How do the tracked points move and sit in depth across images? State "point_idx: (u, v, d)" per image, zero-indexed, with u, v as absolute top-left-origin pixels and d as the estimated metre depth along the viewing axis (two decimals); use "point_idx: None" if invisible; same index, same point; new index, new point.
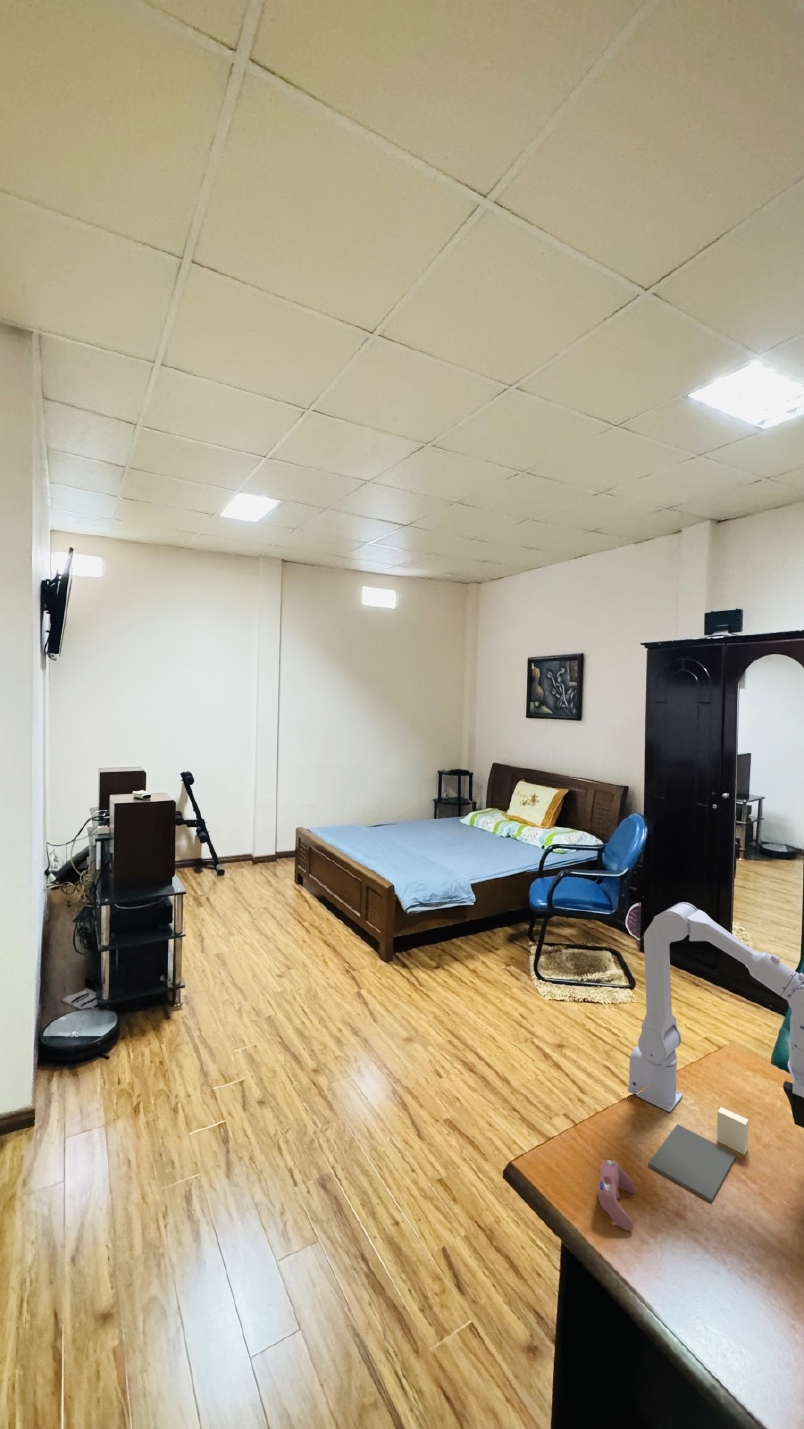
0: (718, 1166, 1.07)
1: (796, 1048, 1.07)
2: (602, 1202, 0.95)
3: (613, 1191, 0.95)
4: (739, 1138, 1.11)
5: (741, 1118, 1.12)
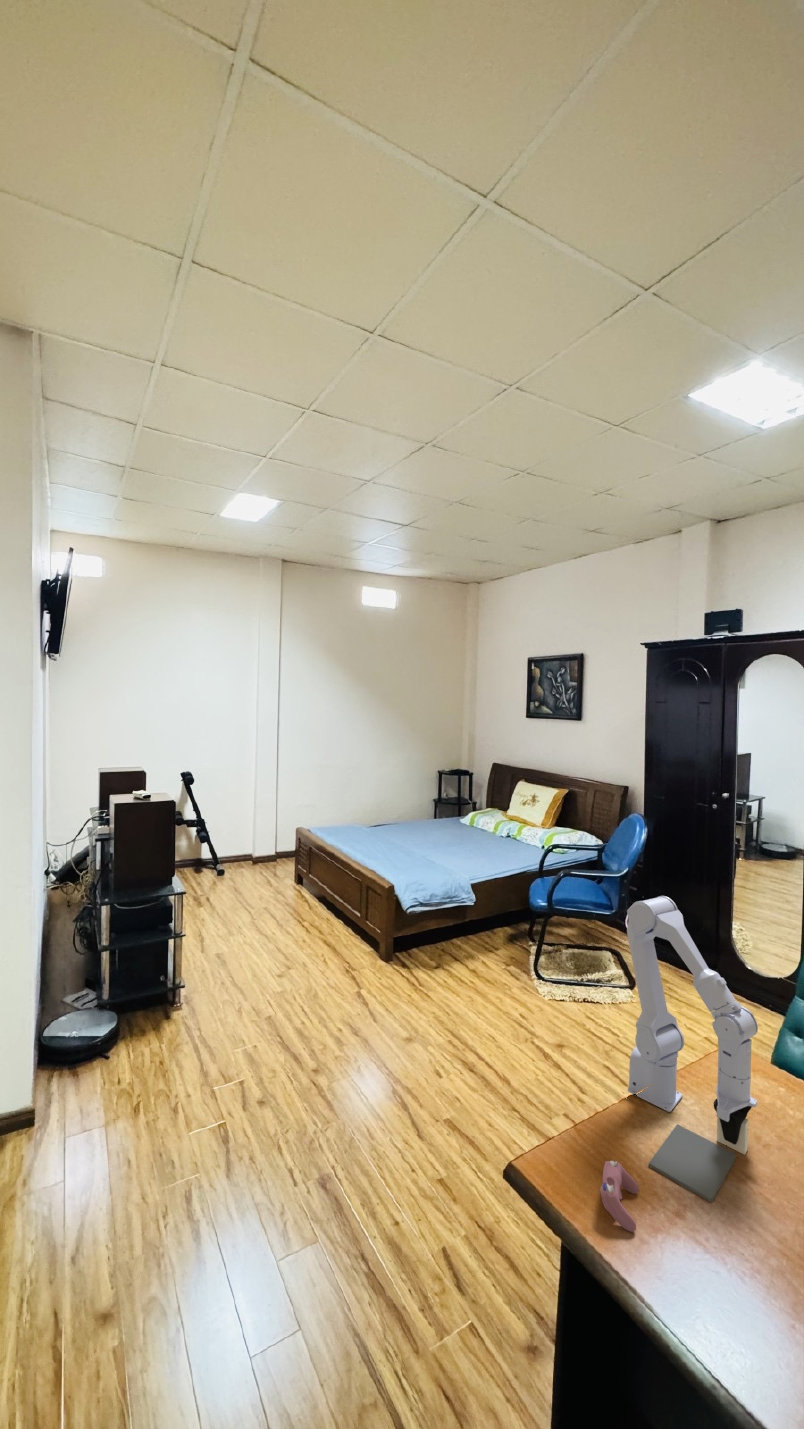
0: (718, 1166, 1.07)
1: (722, 1073, 1.12)
2: (605, 1203, 0.95)
3: (616, 1192, 0.95)
4: (739, 1138, 1.11)
5: None
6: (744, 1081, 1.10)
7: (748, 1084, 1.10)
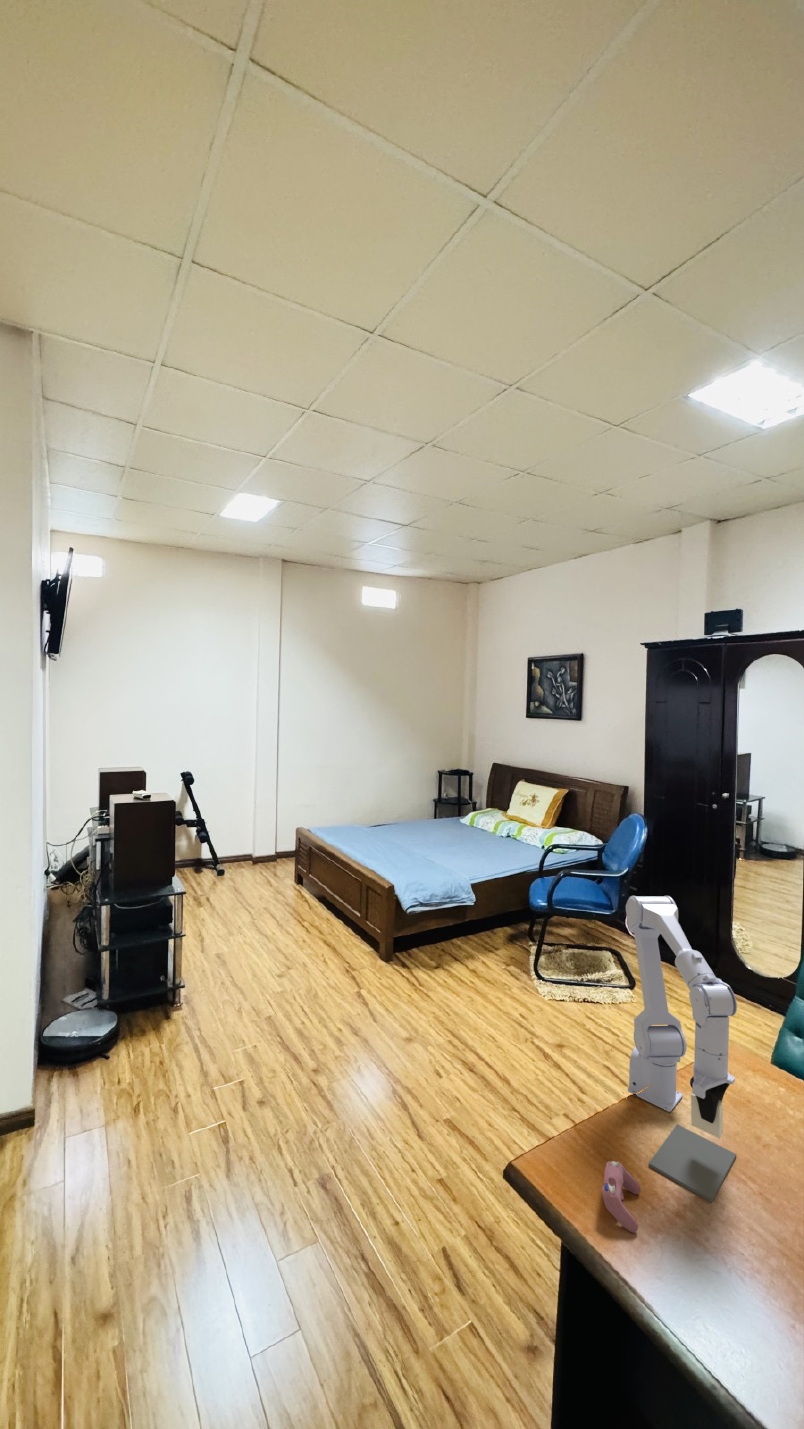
0: (718, 1166, 1.07)
1: (699, 1049, 1.08)
2: (607, 1204, 0.95)
3: (618, 1192, 0.95)
4: None
5: None
6: (721, 1057, 1.06)
7: (725, 1060, 1.06)
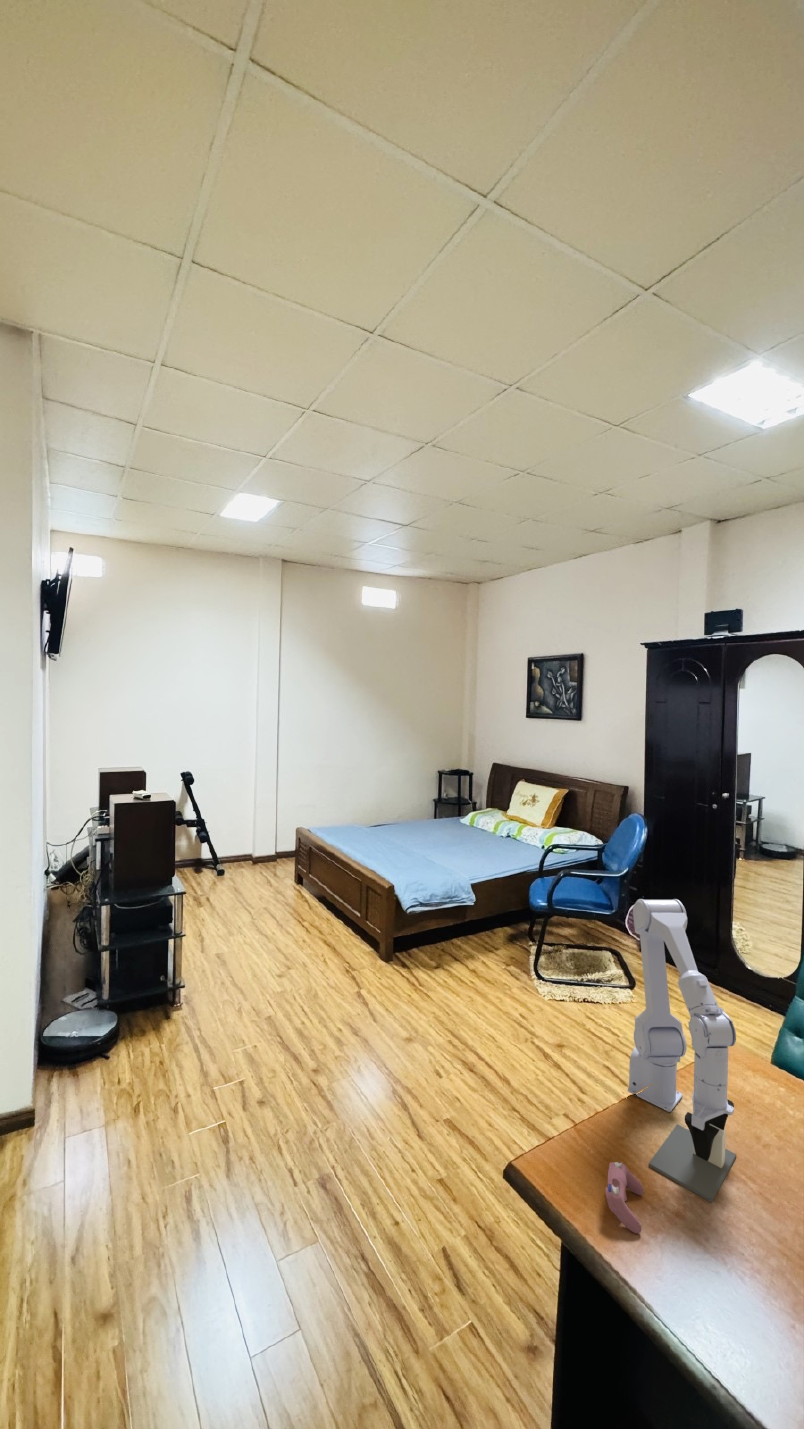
0: None
1: (698, 1080, 1.08)
2: (610, 1205, 0.94)
3: (621, 1194, 0.95)
4: (716, 1151, 1.07)
5: None
6: (720, 1088, 1.06)
7: (725, 1091, 1.06)
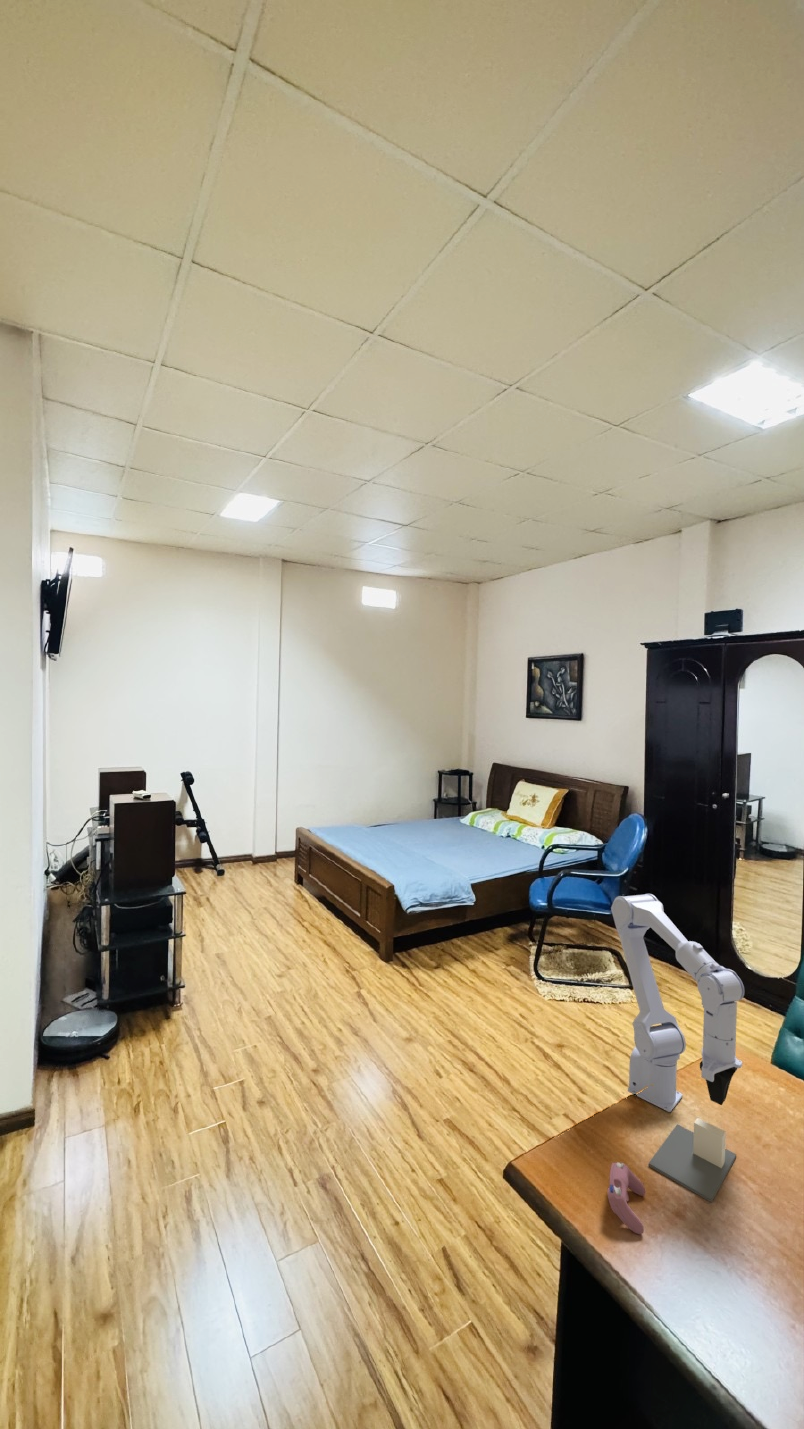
0: None
1: (708, 1035, 1.11)
2: (612, 1205, 0.94)
3: (623, 1194, 0.95)
4: (716, 1151, 1.07)
5: (718, 1130, 1.08)
6: (729, 1042, 1.09)
7: (733, 1045, 1.10)
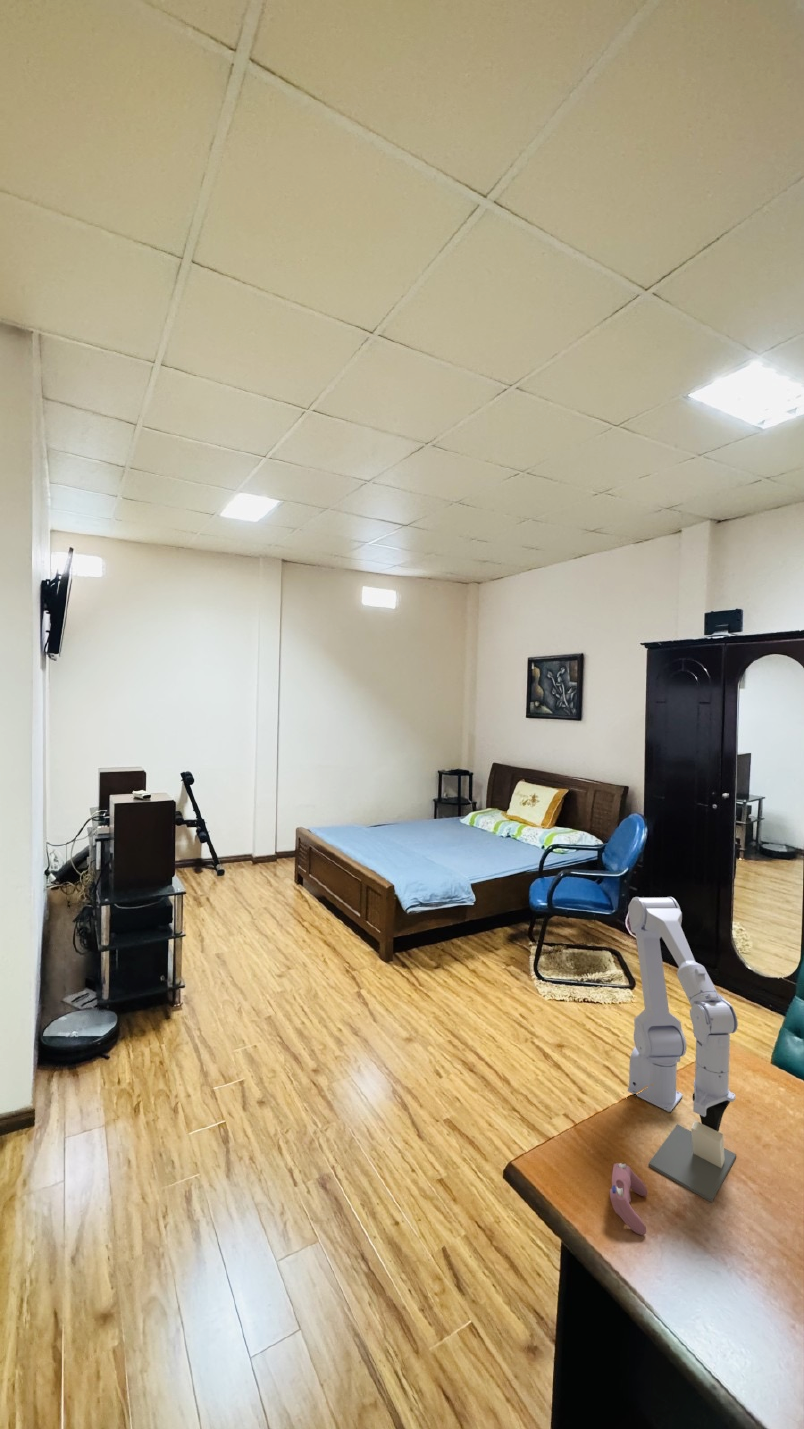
0: None
1: (700, 1067, 1.08)
2: (615, 1206, 0.94)
3: (626, 1195, 0.95)
4: (714, 1153, 1.06)
5: (715, 1133, 1.07)
6: (722, 1075, 1.06)
7: (726, 1078, 1.07)
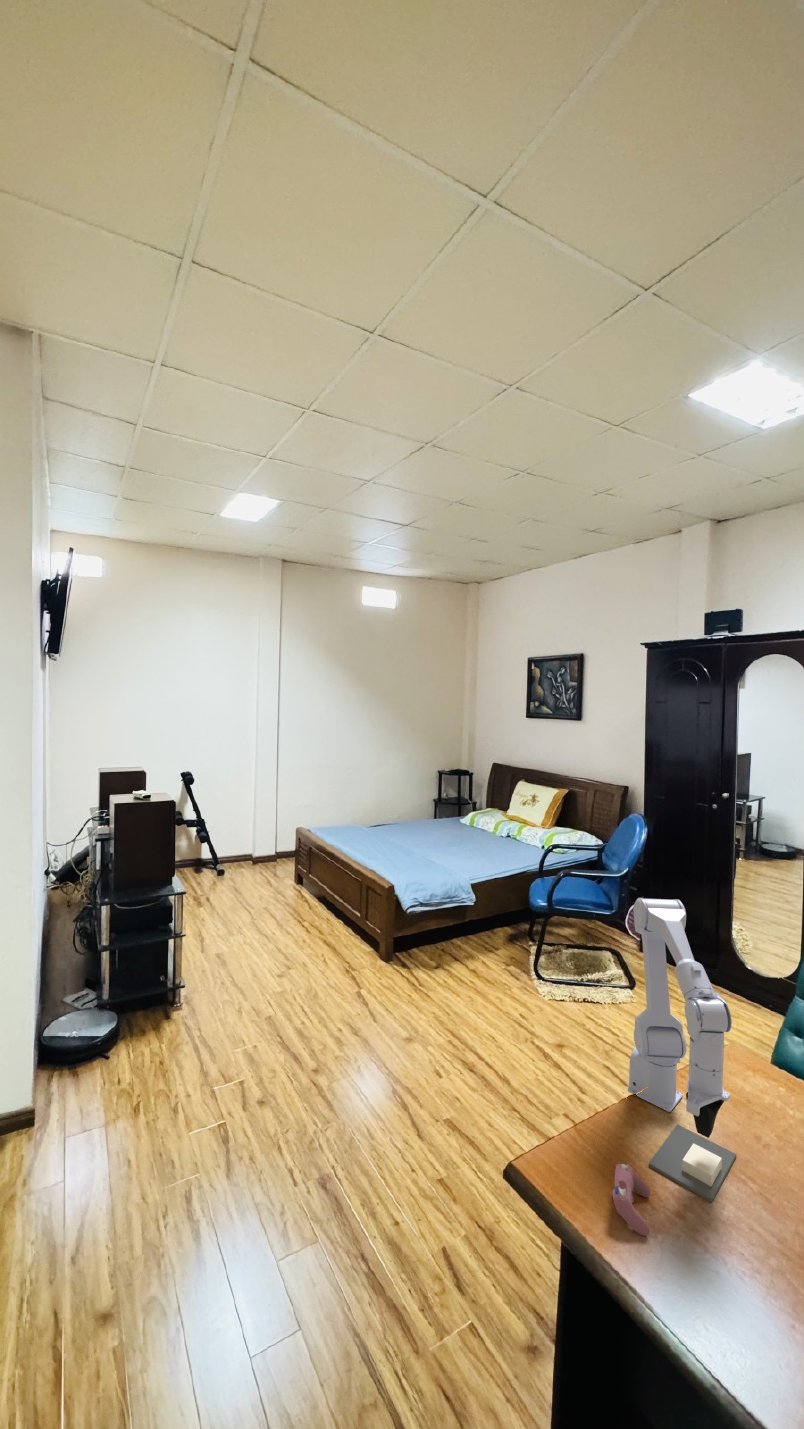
0: None
1: (693, 1065, 1.06)
2: (618, 1207, 0.94)
3: (628, 1196, 0.95)
4: None
5: (705, 1175, 1.03)
6: (716, 1073, 1.04)
7: (720, 1076, 1.04)
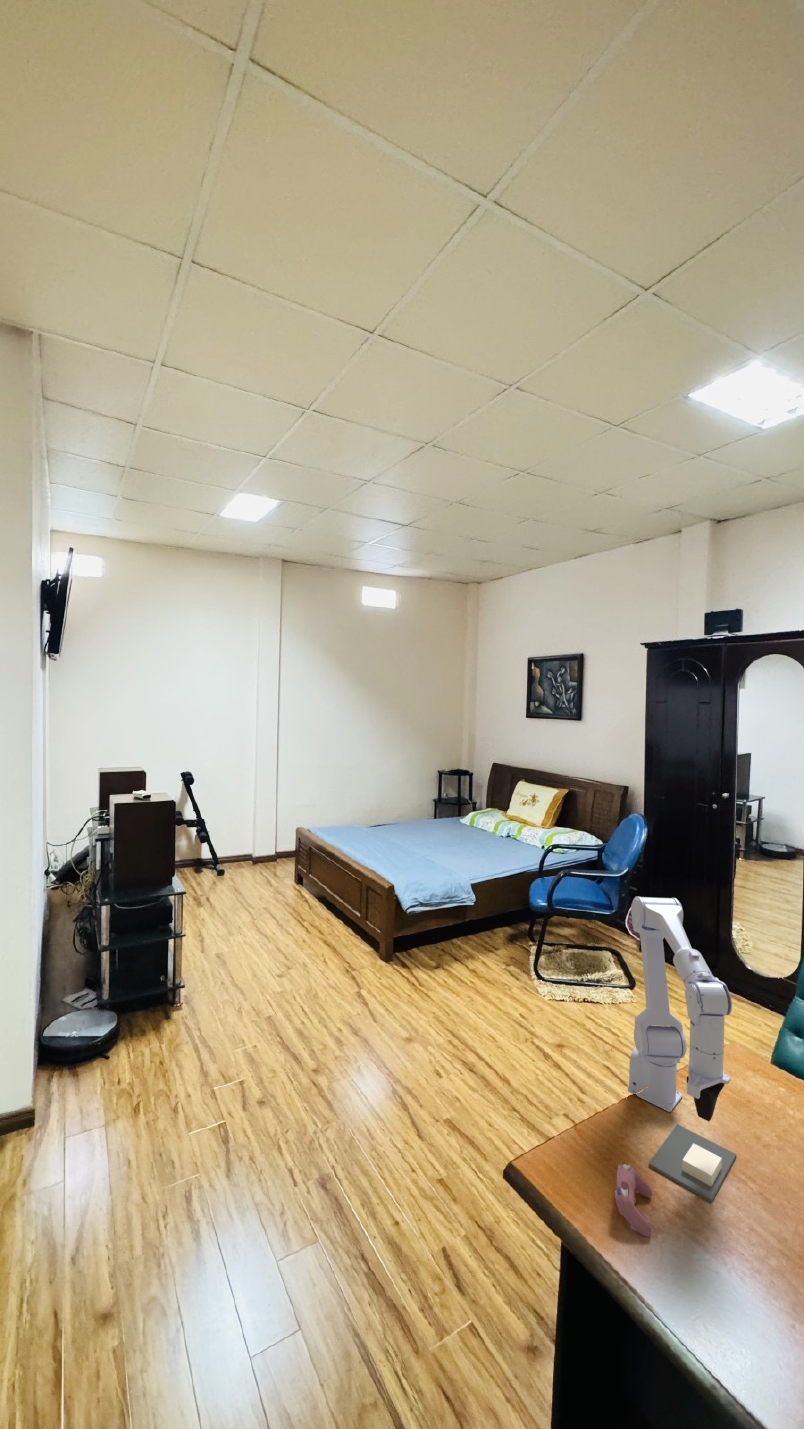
0: None
1: (694, 1049, 1.06)
2: (620, 1208, 0.94)
3: (631, 1196, 0.94)
4: None
5: (705, 1175, 1.03)
6: (716, 1056, 1.04)
7: (721, 1060, 1.04)
